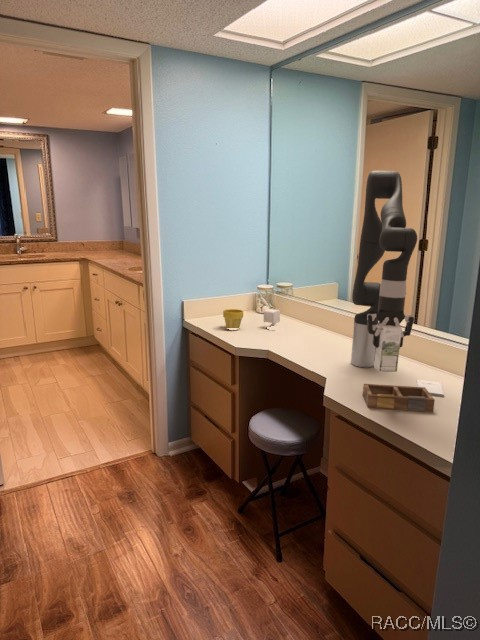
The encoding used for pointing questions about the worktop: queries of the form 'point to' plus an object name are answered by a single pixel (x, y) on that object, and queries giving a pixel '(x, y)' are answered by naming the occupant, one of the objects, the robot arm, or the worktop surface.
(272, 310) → the security camera
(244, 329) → the worktop surface
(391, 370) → the syrup box
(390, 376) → the worktop surface
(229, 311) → the plant pot
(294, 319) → the worktop surface
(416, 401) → the socket block
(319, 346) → the worktop surface
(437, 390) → the external hard drive
